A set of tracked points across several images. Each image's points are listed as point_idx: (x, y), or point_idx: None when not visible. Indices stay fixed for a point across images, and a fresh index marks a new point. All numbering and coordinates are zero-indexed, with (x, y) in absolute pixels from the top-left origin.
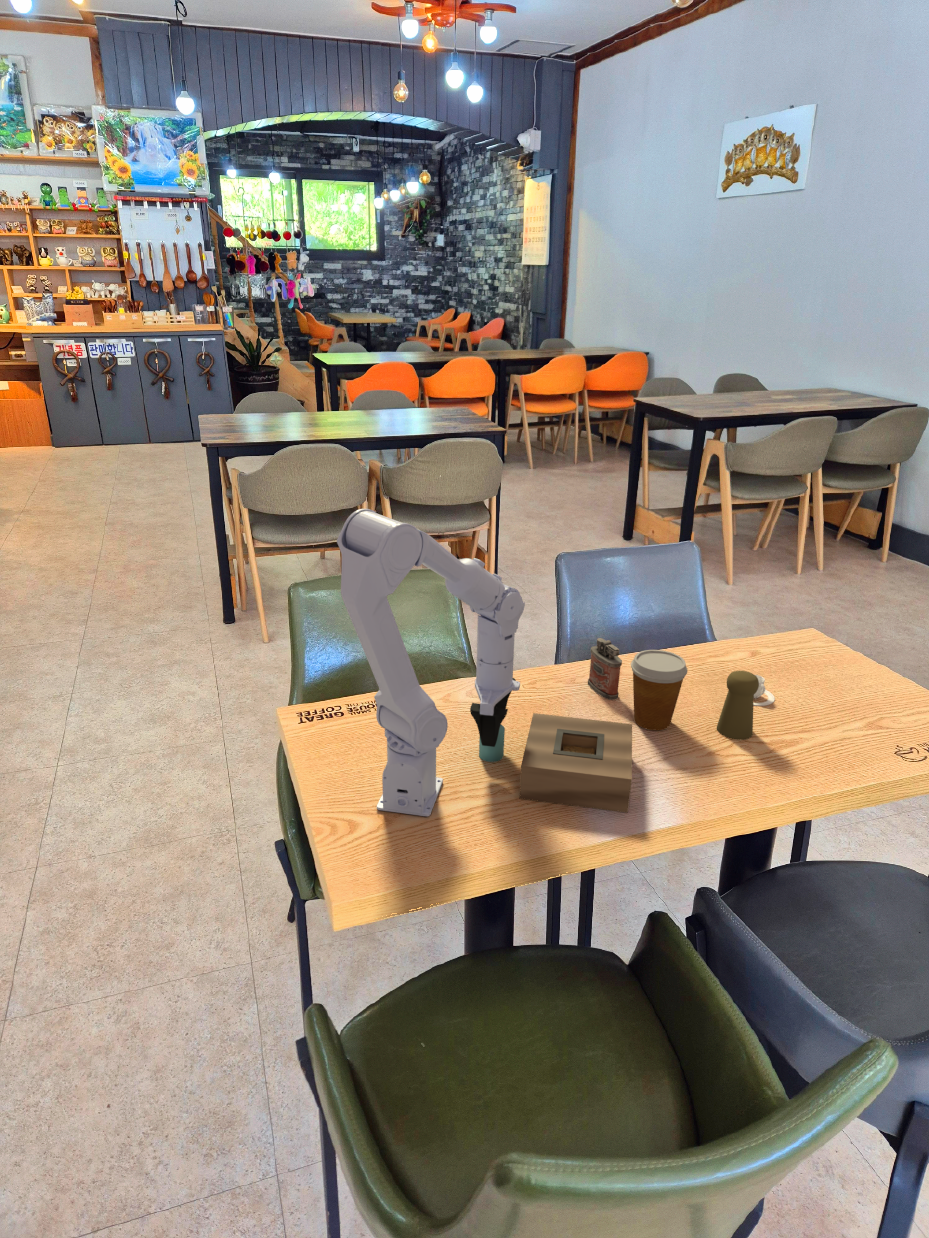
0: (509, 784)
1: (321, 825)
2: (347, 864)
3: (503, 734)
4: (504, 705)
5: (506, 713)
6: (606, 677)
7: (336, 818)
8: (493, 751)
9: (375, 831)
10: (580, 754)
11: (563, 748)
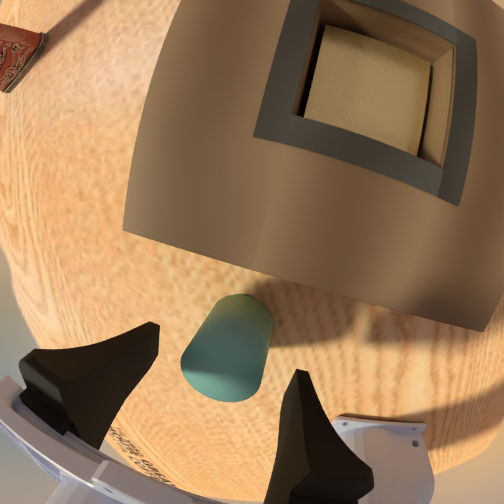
0: None
1: None
2: (453, 460)
3: (242, 342)
4: (124, 354)
5: (362, 480)
6: (8, 48)
7: None
8: (269, 342)
9: None
10: (465, 97)
11: None
